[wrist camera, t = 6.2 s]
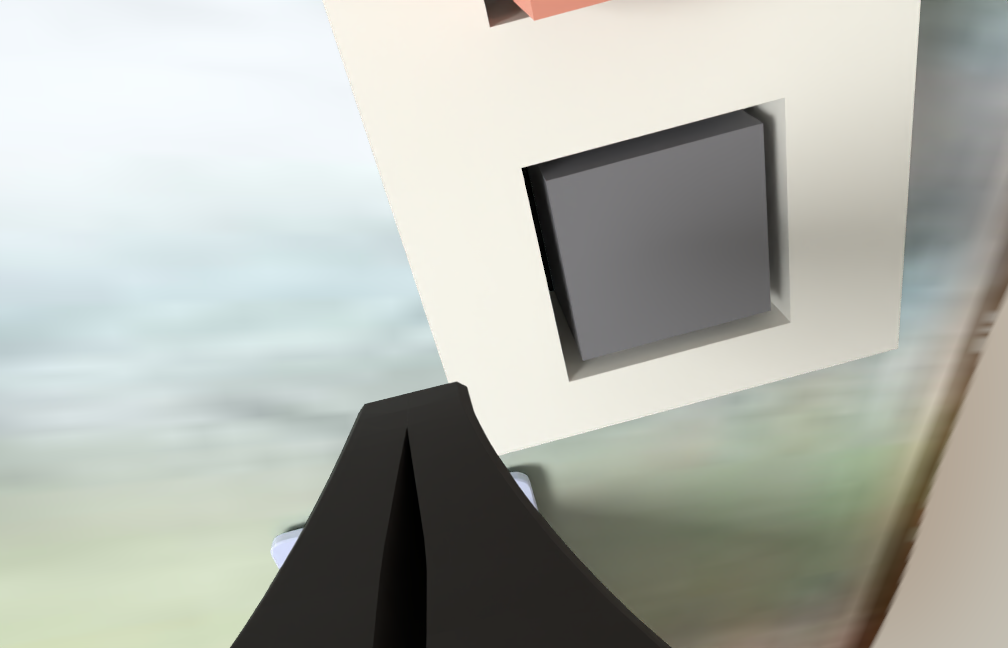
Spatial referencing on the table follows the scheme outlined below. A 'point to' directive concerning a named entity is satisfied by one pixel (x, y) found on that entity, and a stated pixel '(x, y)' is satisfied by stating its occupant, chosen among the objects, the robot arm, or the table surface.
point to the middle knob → (552, 6)
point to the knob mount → (617, 117)
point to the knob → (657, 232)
